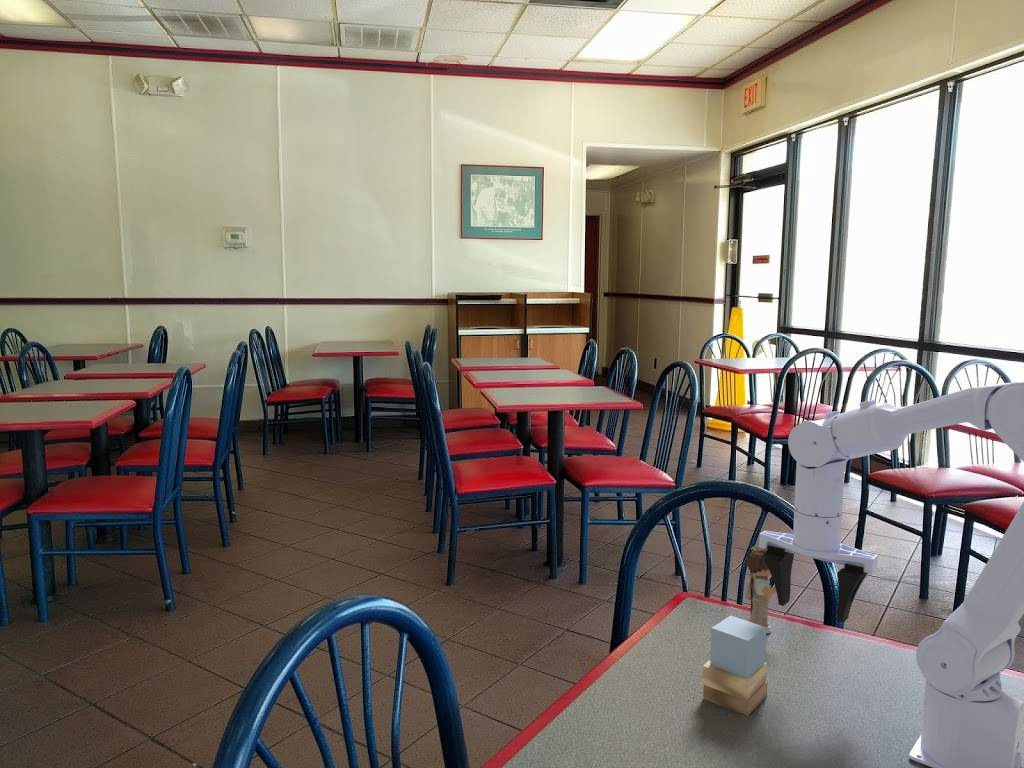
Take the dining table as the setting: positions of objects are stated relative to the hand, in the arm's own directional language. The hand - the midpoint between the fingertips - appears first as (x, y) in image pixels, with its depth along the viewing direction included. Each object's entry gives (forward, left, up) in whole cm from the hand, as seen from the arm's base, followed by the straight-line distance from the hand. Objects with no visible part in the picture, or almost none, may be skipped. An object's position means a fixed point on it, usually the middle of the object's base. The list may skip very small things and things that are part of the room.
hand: (812, 611), depth 98 cm
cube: (+6, +9, -6) cm, 12 cm away
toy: (+12, -12, -11) cm, 20 cm away
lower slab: (+6, +9, -11) cm, 15 cm away
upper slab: (+6, +9, -8) cm, 14 cm away
